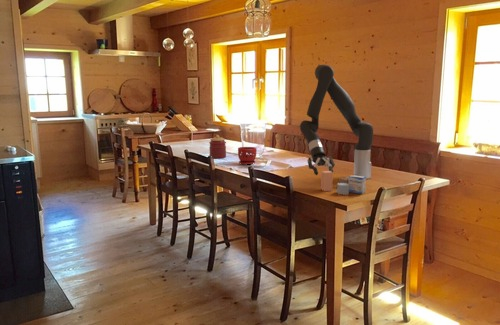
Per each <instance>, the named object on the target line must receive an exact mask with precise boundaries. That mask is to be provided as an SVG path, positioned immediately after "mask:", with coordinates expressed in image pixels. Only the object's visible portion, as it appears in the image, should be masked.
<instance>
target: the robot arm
mask: <svg viewBox="0 0 500 325" xmlns="http://www.w3.org/2000/svg"><path fill="white" fill-rule="evenodd" d="M314 75H315V78H316V80H317V85H316V87H315V90H314V93H313V95H312V97H311V99H310V101H309V104H308V107H307V111H306V115H307V116H308V117H309V118H311V120H303V121H301V123H300V125H299V128H300V132H301V134H302V136H304V138H305V140H306V141H307V145H308V148H309V152H310V156H311V157H308V158H307V166H308V169H309V170H313V173H314V175H315V176H318V175H319V170H318V168H317V166H318V167H320V166H324V167H326V168H327V169H328V171H331V172H333V173H334V169H333V168H334V167H335V162H334V160H333V157H332V156H329V157H327V156H326V152H325V149H324V145H323V144H322V142H321V139H320V136H319V134H318V133H317V132H318V130H319V124H320V123H319V121H320V120H319V119H320V112H321V110H322V107H323V102H324V99H325V97H326V94H327V93H328V95H329V97H330V99H331V100H332V102H333V103H334V105H335V107H336V108H337V109H338V111H339V112H340V114H341V115H342V117H343V118H344V120H346V122H347V124H348V125H349V127H350V129H351V131H352V132H353V135H355V137H357V138H358V141H357V143H356V144H354V153H353V154H354V157H353V158H354V159H353V161H354V162H353V175H356V176H364V177H366V180H368V179H371V178H372V162H371V152H372V150H371V148H372V145H373V138H374V128H373V125H372V124H371V123H369V122H365V121H363V120H361V119H360V117H359V115H358V114H357V111H356V105H355V103H354V101H353V100H352V97H351V96H350V95H349V93H348V92H347V91H346V90H345V89H344V88H343V87H342V86H341V85H340V84H339V83H338V82H337V81H336V79H335V77H334V76H335V71H334V69H333V68H332V66H330V65H327V64H319V65H317V66H316V68H315V69H314ZM313 163H314V165H313Z"/></svg>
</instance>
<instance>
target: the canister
mask: <svg viewBox="0 0 500 325" xmlns="http://www.w3.org/2000/svg"><path fill="white" fill-rule="evenodd" d="M225 140H226V138H224V137H222V136H221V137H220V135H219V134H217V135H215V136H214V137H211V138H210V140H209V142H208V143H209V157H210V156H212V157H213V158H212V159H216V160H217V159H218V160H220V159H226V158H227V146H226V143H227V141H225Z"/></svg>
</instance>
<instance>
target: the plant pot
mask: <svg viewBox="0 0 500 325" xmlns="http://www.w3.org/2000/svg"><path fill="white" fill-rule="evenodd" d="M237 156H238V159H239V161H238V163H239V164H240V165H242V164H243V165H242V166H248V165H247V164H253V163H254V164H256V161H255V160H256V158H257V147H252V146H240V147H238V148H237ZM254 164H253V165H254Z"/></svg>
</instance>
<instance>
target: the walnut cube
mask: <svg viewBox="0 0 500 325" xmlns="http://www.w3.org/2000/svg"><path fill="white" fill-rule="evenodd" d="M339 183H347V184H348V185H349V176H347V177H346V176H345V177H339Z"/></svg>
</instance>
